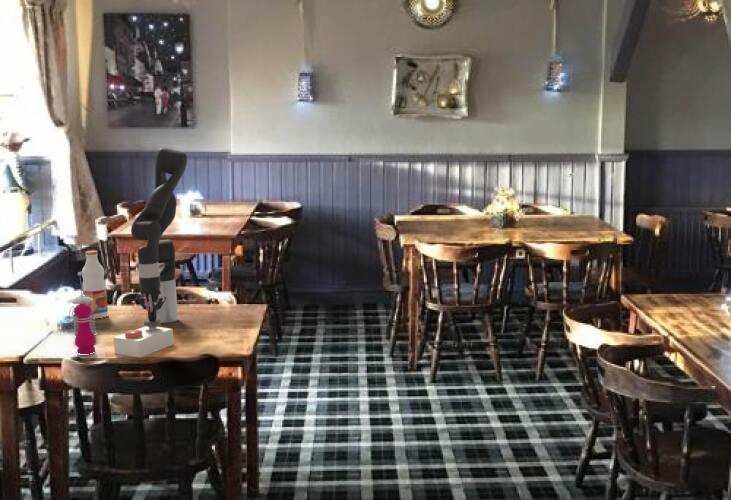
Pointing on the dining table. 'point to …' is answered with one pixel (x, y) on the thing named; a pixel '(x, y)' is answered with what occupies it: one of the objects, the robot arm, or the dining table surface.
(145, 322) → the dark grey knob
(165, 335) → the control box
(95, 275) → the fruit juice
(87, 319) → the pepper mill
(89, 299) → the french press
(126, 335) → the red button
